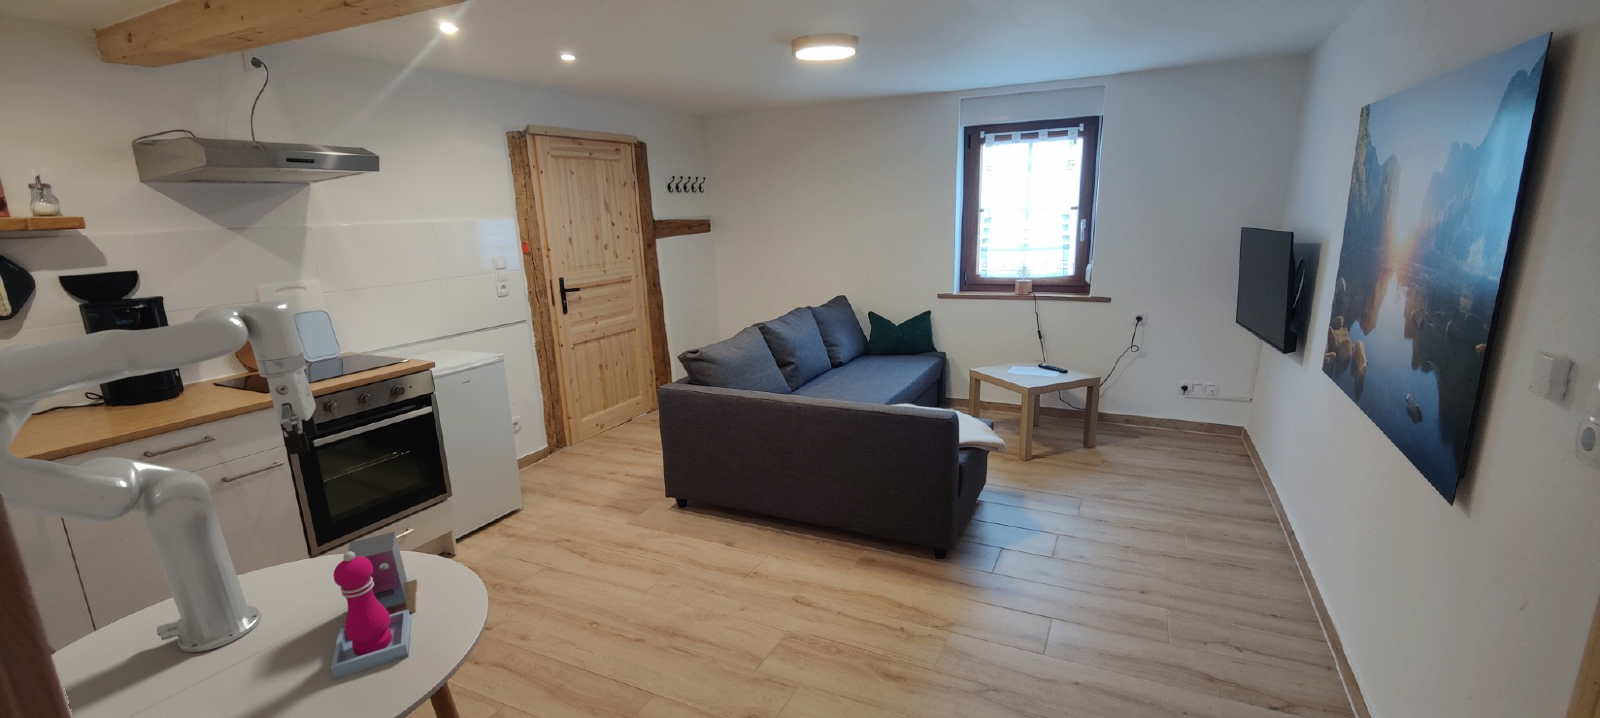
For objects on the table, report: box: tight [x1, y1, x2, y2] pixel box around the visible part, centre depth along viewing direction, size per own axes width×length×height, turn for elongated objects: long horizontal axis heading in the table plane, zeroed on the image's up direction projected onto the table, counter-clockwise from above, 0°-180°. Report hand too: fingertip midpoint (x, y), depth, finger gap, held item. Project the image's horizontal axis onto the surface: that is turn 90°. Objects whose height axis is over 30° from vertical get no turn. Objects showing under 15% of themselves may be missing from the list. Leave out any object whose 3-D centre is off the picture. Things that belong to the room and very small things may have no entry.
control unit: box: [347, 531, 418, 615], centre depth 137 cm, size 11×11×14 cm
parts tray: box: [330, 610, 412, 680], centre depth 126 cm, size 12×12×3 cm
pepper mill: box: [333, 551, 392, 656], centre depth 124 cm, size 7×7×20 cm
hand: (304, 444), depth 137 cm, fingers open, 9 cm apart
